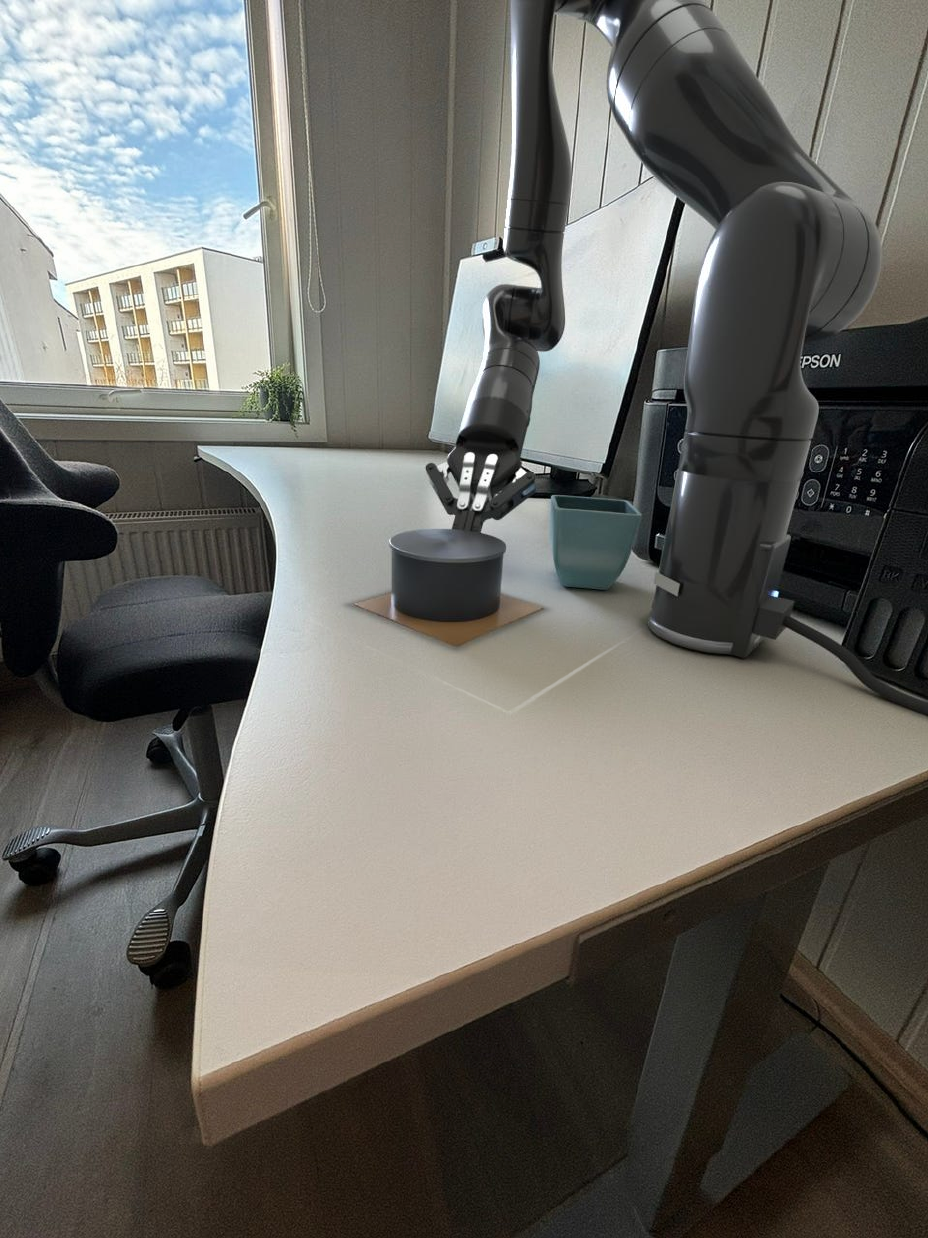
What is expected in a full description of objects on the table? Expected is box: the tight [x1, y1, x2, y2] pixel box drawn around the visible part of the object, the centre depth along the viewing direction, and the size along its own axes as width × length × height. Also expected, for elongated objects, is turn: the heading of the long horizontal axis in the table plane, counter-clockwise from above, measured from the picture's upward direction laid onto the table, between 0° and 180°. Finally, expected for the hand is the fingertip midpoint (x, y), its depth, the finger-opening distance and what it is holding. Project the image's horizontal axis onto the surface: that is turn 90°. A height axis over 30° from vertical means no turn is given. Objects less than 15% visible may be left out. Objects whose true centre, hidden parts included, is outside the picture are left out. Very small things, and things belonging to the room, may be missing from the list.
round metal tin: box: [388, 528, 507, 622], centre depth 54 cm, size 11×11×6 cm
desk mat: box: [353, 592, 544, 648], centre depth 55 cm, size 13×13×1 cm
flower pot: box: [549, 494, 643, 591], centre depth 62 cm, size 9×9×9 cm
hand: (462, 546), depth 59 cm, fingers closed
